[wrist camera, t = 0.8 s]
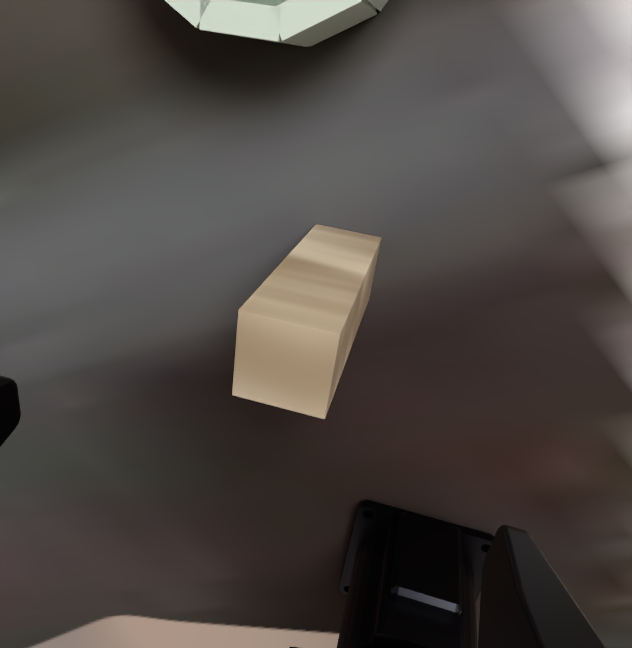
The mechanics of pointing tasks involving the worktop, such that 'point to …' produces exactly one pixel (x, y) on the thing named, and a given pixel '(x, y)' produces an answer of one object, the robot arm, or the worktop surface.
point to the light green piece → (277, 17)
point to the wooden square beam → (305, 321)
